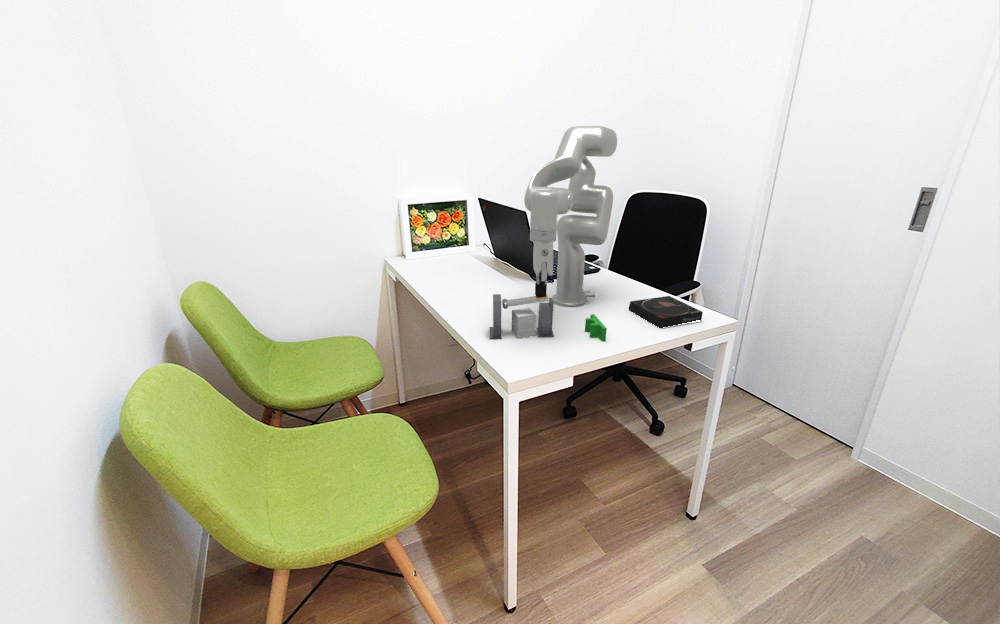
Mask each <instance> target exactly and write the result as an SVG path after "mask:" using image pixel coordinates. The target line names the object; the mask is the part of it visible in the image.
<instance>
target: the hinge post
mask: <svg viewBox="0 0 1000 624" xmlns="http://www.w3.org/2000/svg"><path fill="white" fill-rule="evenodd" d="M492 298H493V299H492V316H493V319H492V321H493V323H492V324H493V325H492V326H489V340H502V295H501V294H499V293H495V294H492Z"/></svg>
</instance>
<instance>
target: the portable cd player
mask: <svg viewBox="0 0 1000 624" xmlns="http://www.w3.org/2000/svg"><path fill="white" fill-rule="evenodd" d="M628 311H629V312H631V313H632V312H633V313H632V314H634V313H635V314H634V315H636V316H637V315H638V317H639V316H640V317H639V318H641V319H642V318H643V320H644V319H645V321H646V320H647V321H646V322H648V323H649V322H650V324H651V323H652V324H651V325H653V324H654V325H655V327H656V326H657V327H656V328H658V327H659V328H662V329H664V328H663V327H668V326H673V325H678V324H682V323H687V322H692V321H696V320H701V321H702V319H703V318H702V317H703V313H704V312H703V311H701V310H700V309H697V308H695V307H693V306H691V305H689V304H687V303H686V302H683V301H682V300H678V299H677V298H674V297H673V296H671V295H665V296H660V297H658V296H657V297H651V298H645V299H637V300H631V301H629V305H628ZM654 325H653V326H654ZM659 328H658V329H659ZM668 328H669V327H668Z"/></svg>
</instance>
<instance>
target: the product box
mask: <svg viewBox="0 0 1000 624" xmlns="http://www.w3.org/2000/svg"><path fill="white" fill-rule="evenodd" d="M536 328H537V314H536V313H535V312H534V310H532V309H531V308H530V307H524V308H518V309H512V310H511V332H512V333H513V334H514V336H516V338H517V339H518V338H519V339H524V338H523V337H526V338H531V337H530V336H533V337H536V334H537V330H536Z"/></svg>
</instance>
